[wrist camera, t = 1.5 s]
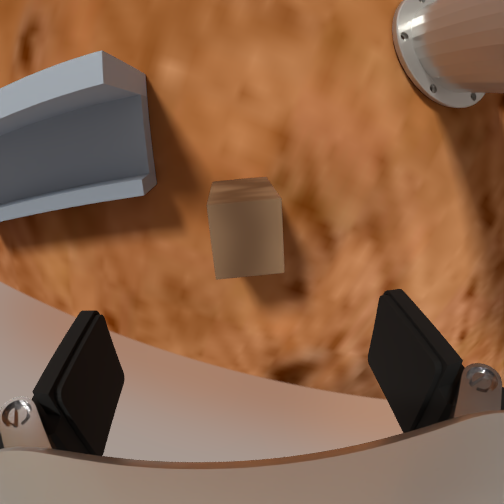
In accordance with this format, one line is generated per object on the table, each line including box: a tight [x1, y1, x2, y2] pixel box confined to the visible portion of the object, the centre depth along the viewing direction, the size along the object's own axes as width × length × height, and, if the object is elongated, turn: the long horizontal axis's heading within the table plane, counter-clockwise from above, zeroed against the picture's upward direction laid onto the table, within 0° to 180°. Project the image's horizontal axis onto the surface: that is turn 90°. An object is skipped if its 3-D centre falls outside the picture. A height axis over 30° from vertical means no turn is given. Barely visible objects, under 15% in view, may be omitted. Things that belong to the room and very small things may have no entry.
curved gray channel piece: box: [0, 51, 157, 222], centre depth 19 cm, size 20×10×10 cm, turn 94°
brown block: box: [207, 177, 284, 279], centre depth 24 cm, size 4×6×8 cm
